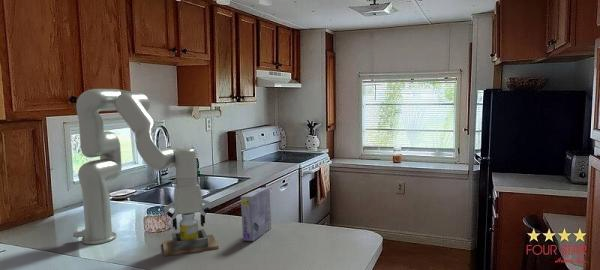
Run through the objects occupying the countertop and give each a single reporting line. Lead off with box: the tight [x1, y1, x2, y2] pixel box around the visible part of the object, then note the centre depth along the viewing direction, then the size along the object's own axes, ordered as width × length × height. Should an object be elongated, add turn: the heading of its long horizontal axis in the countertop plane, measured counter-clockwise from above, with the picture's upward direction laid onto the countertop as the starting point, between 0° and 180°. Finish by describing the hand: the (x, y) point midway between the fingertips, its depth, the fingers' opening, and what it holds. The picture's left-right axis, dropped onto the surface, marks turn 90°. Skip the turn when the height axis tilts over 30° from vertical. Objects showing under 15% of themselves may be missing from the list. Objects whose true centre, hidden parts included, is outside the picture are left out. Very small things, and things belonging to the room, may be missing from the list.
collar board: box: [162, 228, 219, 257], centre depth 161 cm, size 19×14×4 cm
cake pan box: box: [240, 186, 272, 243], centre depth 172 cm, size 19×5×18 cm, turn 160°
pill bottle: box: [179, 213, 199, 241], centre depth 160 cm, size 6×6×12 cm
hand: (189, 227), depth 160 cm, fingers open, 9 cm apart
